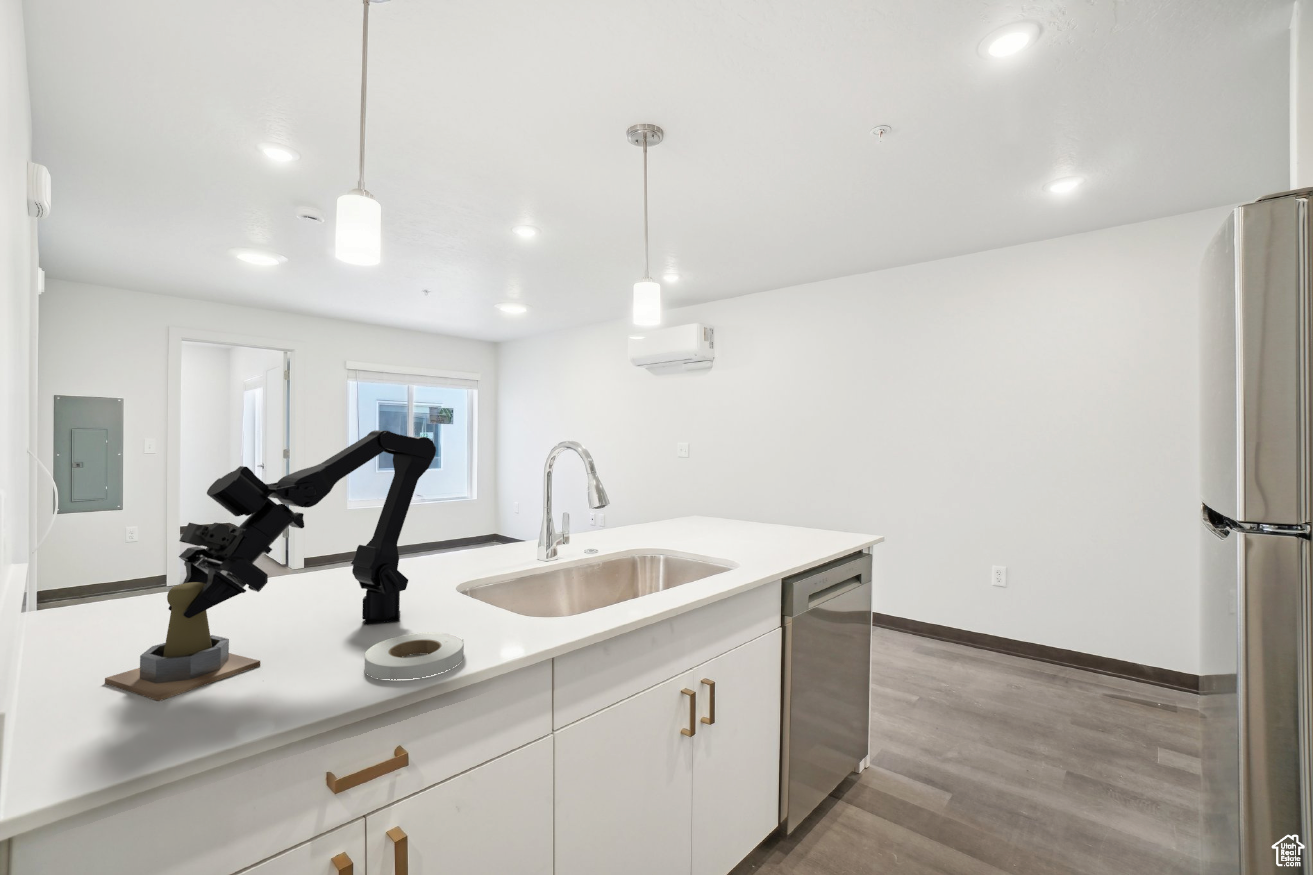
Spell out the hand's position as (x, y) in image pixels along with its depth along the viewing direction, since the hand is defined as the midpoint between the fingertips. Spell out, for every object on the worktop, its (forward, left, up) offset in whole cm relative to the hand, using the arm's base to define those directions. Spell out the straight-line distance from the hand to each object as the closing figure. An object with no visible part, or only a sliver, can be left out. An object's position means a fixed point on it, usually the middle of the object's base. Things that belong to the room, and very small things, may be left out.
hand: (178, 613), depth 89 cm
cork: (-1, -1, -7) cm, 7 cm away
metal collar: (-1, -1, -10) cm, 10 cm away
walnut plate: (-1, -1, -10) cm, 10 cm away
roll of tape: (-35, +6, -10) cm, 37 cm away
